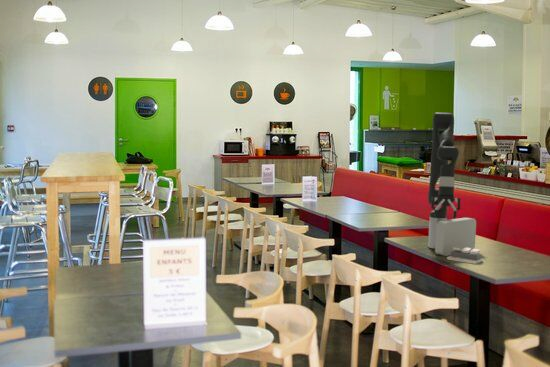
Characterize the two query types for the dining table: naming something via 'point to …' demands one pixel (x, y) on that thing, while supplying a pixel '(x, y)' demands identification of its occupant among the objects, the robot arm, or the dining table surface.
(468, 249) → the rocker
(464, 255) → the switch unit
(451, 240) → the rounded white slab
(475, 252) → the rocker
